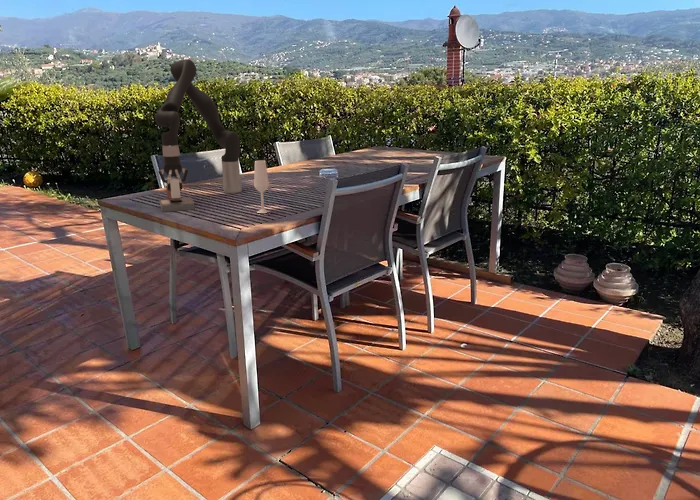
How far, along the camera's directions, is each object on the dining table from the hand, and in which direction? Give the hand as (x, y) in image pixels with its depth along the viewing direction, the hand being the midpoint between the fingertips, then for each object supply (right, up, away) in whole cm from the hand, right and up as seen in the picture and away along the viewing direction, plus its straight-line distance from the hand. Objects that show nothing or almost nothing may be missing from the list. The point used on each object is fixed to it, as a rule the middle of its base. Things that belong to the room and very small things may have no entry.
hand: (175, 190), depth 245 cm
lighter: (-7, -3, +19) cm, 20 cm away
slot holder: (0, -8, +2) cm, 8 cm away
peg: (0, -3, +1) cm, 3 cm away
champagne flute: (+44, -12, -9) cm, 46 cm away
